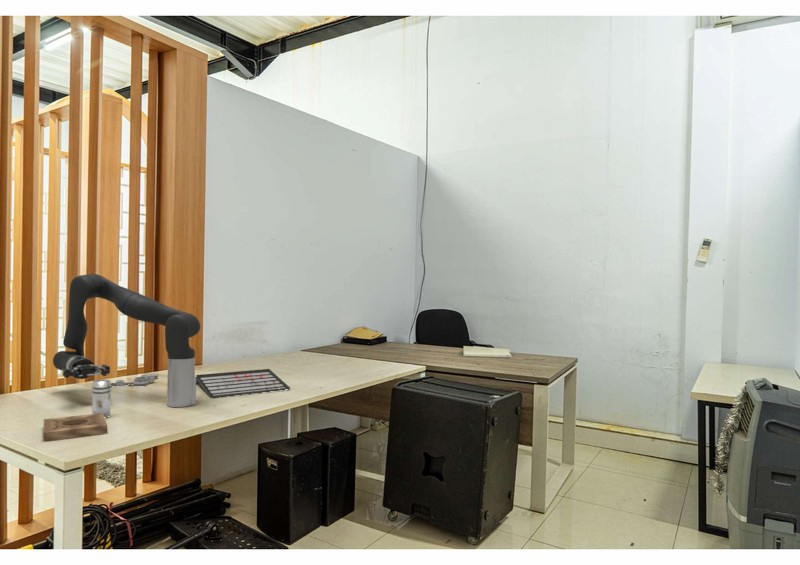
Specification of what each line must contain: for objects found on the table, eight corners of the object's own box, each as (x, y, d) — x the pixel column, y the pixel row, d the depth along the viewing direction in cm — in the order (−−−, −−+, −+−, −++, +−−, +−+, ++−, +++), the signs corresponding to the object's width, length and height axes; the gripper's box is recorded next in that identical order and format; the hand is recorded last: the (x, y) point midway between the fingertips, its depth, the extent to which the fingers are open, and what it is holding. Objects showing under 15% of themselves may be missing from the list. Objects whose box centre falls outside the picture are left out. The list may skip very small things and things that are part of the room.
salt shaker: (109, 414, 184) (109, 378, 183) (111, 417, 179) (111, 381, 179) (91, 416, 181) (92, 380, 180) (92, 419, 176) (93, 383, 176)
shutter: (288, 403, 226) (264, 380, 252) (290, 387, 226) (265, 365, 252) (210, 409, 209) (192, 383, 235) (211, 391, 208) (194, 367, 234)
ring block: (102, 420, 176) (102, 412, 176) (107, 433, 162) (107, 425, 162) (43, 427, 167) (43, 419, 167) (43, 441, 154) (43, 432, 154)
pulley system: (173, 383, 239) (151, 377, 246) (173, 372, 239) (151, 367, 246) (114, 397, 215) (91, 390, 223) (114, 385, 215) (91, 379, 222)
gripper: (57, 358, 195) (68, 365, 183) (101, 355, 204) (114, 361, 193) (57, 379, 195) (67, 387, 183) (100, 374, 205) (113, 382, 193)
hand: (91, 374), depth 188 cm, fingers open, 8 cm apart
